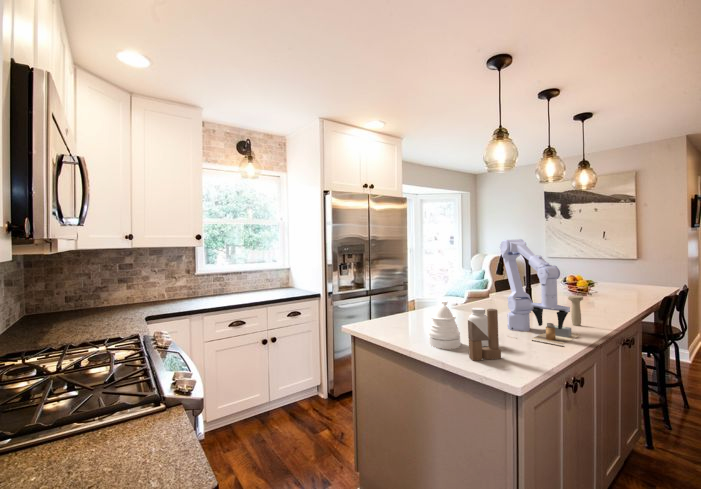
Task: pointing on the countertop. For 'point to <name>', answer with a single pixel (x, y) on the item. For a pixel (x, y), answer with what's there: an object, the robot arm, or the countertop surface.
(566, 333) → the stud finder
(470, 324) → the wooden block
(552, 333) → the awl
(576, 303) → the handle
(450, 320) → the honey pot
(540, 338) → the panel
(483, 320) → the pill bottle
